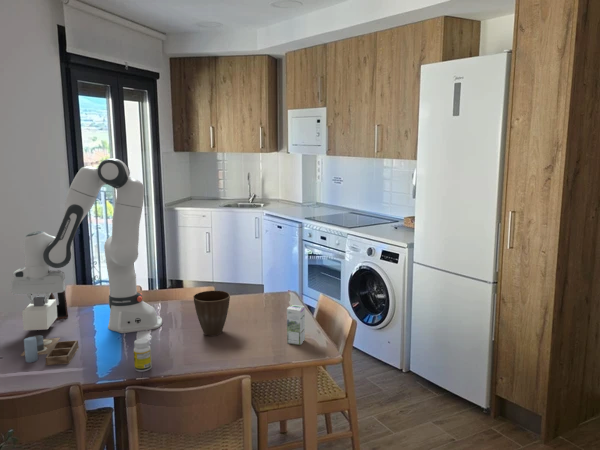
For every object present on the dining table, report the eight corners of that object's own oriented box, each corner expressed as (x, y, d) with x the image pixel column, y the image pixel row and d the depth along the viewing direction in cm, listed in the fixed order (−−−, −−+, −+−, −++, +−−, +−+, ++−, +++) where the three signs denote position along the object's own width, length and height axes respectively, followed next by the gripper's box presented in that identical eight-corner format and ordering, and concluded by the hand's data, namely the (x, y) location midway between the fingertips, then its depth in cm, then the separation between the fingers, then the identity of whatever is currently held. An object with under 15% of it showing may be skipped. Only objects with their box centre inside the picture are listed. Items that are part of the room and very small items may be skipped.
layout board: (60, 340, 210) (59, 325, 209) (49, 356, 194) (47, 340, 193) (33, 341, 208) (32, 327, 207) (20, 358, 192) (18, 342, 191)
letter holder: (60, 306, 253) (58, 278, 250) (68, 318, 236) (66, 288, 234) (37, 310, 247) (35, 281, 245) (44, 322, 231) (41, 291, 229)
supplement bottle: (136, 365, 186) (135, 337, 184) (153, 364, 186) (151, 337, 185) (132, 372, 180) (131, 344, 179) (149, 371, 181) (148, 343, 179)
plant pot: (238, 332, 217) (237, 295, 215) (209, 342, 207) (208, 303, 204) (216, 323, 228) (214, 288, 225) (187, 333, 217) (185, 296, 214)
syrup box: (305, 340, 208) (305, 305, 206) (300, 345, 203) (300, 309, 200) (291, 338, 210) (291, 303, 208) (286, 344, 205) (286, 308, 202)
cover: (57, 317, 226) (55, 291, 224) (47, 329, 211) (45, 301, 210) (35, 318, 224) (33, 292, 223) (23, 330, 210) (21, 302, 208)
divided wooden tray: (79, 349, 201) (78, 340, 200) (69, 365, 186) (68, 356, 185) (56, 350, 199) (56, 341, 198) (45, 367, 184) (44, 357, 184)
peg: (39, 360, 191) (37, 336, 189) (36, 364, 187) (34, 340, 186) (28, 360, 190) (25, 337, 189) (24, 365, 186) (22, 341, 185)
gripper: (66, 268, 220) (68, 299, 222) (13, 270, 216) (16, 302, 218) (62, 271, 213) (64, 304, 215) (8, 273, 210) (10, 306, 212)
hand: (39, 303), depth 217 cm, fingers closed on cover, 3 cm apart
